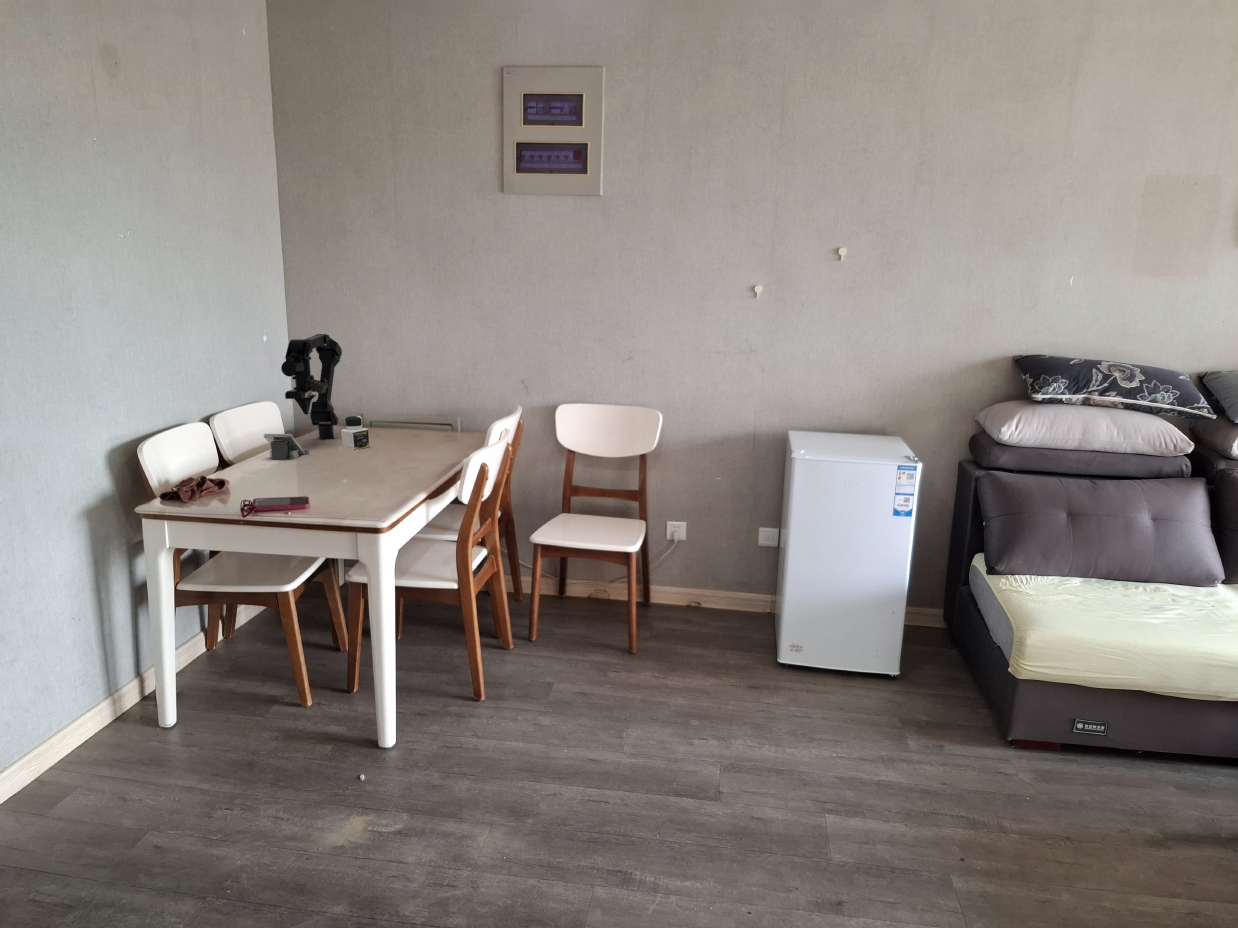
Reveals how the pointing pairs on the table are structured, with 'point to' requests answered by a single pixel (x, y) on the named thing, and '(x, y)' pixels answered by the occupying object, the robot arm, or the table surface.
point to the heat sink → (283, 451)
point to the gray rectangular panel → (285, 437)
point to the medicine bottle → (355, 433)
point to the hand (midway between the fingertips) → (306, 414)
